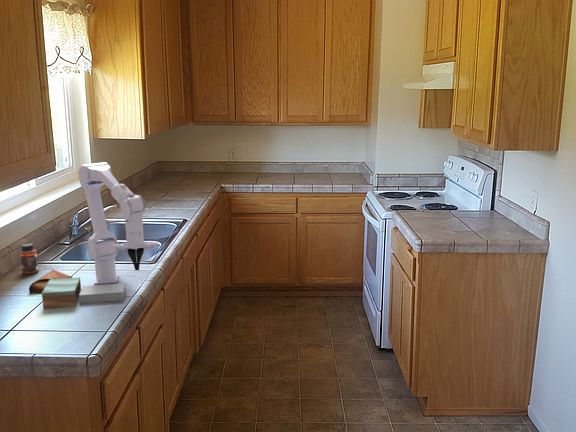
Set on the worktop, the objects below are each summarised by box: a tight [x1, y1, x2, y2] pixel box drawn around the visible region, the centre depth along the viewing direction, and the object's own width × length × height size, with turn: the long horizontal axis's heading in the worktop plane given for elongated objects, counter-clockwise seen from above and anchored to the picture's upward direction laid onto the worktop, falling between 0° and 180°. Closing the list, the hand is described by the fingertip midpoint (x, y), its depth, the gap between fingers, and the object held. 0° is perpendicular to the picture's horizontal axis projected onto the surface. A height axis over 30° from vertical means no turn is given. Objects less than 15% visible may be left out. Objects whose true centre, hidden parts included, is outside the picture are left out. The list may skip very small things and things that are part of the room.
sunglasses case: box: [28, 268, 73, 294], centre depth 203 cm, size 18×7×7 cm
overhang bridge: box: [41, 277, 82, 310], centre depth 188 cm, size 13×10×6 cm
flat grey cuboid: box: [78, 282, 126, 305], centre depth 191 cm, size 9×14×3 cm, turn 102°
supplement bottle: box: [19, 242, 39, 275], centre depth 216 cm, size 6×6×11 cm
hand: (137, 269), depth 192 cm, fingers closed
